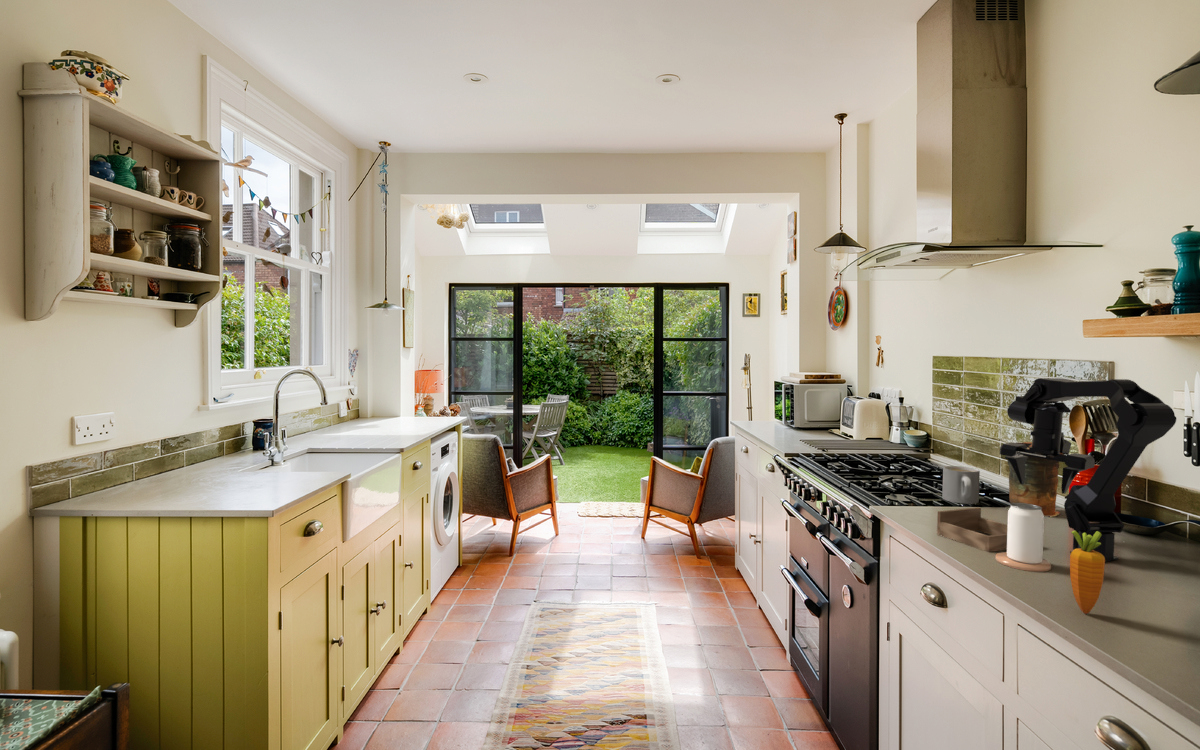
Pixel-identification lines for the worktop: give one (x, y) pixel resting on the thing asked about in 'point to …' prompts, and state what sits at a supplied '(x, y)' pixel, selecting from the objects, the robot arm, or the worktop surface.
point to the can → (1025, 533)
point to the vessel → (1036, 484)
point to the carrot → (1087, 571)
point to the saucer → (1008, 562)
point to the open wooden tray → (972, 529)
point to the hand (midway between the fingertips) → (1042, 488)
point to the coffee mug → (961, 484)
